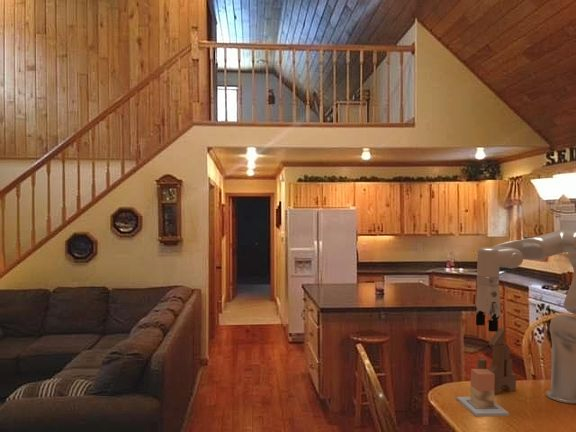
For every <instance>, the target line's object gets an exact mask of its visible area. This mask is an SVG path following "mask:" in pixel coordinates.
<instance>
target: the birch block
mask: <svg viewBox="0 0 576 432" xmlns="http://www.w3.org/2000/svg"><path fill="white" fill-rule="evenodd" d="M469 397H470V402H471V403H473V404H474V405H475V406H476V407H477V408H494V402H495V395H494V391H477V390H476V389H475V388H474V387H472V386H471V385H470V396H469Z"/></svg>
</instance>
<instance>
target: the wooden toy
mask: <svg viewBox="0 0 576 432" xmlns="http://www.w3.org/2000/svg"><path fill="white" fill-rule="evenodd" d="M488 345H490V346H492V357H491V358H492V361H491V364H490V366H489V367H488V368H487V359H486V358H482V357H481V358H480V357H479V358H477V369H488V370H489V371H491V372H492V373H494V374H495V383H494V396H495V395H498V394H499V392H500V389H502V390H504V391H507V392H514V391H516V390H517V374H516V373H514V372H513V359H512V358H511V348H510V346H509V345H508V343H506V342H505V329H504V328H501V327H498V331H497V332H495V333H494V335H493V336H492V337H491V339H490V340H489V342H488Z"/></svg>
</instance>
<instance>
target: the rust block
mask: <svg viewBox="0 0 576 432" xmlns="http://www.w3.org/2000/svg"><path fill="white" fill-rule="evenodd" d="M494 383H495V374H494V373H492V372H491V371H489V370H488V368H486V369H478V368H471V369H470V387H471V386H472V387H474V388H475V389H476V390H477V391H494Z"/></svg>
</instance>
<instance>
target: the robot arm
mask: <svg viewBox="0 0 576 432" xmlns="http://www.w3.org/2000/svg"><path fill="white" fill-rule="evenodd" d="M565 253H567V257H568V259H569V260H568V261H569V262H570V264H571V266H572V269H573V278H572V281H571V284H570V286H569V288H568V291H567V293H566V296H565V298H564V300H563V302H564V303H563V307H564V309H565V310H566V311H567V312H568V313H570V314H573V315H576V230H575V229H560V230H556V231H551V232H549V233H544V234H540V235H538V236H534V237H527V238H523V239H517V240H511V241H506V242H502V243H498V244H495V245H492V246H491V247H480V248H478V250H477V259H476V260H477V261H476V262H477V265H476V266H477V269H476V270H477V271H476V286H477V288H476V295H475V300H474V305H475V325H476V326H485V325H486V315H488V318H489V319H488V329H487V330H488V332H492V333H493V332H495V333H496V332H497V331H498V329H499V319H500V316H501V315H500V314H501V293H500V287H499V286H500V268H506V269H516V268H518V267H520V266H521V265H522V264H523V262H524V260H535V261H536V260H543V259H546V258H549V257H553V256H556V255H560V254H565ZM549 333H550V337H551V371H550V372H551V377H550V378H551V379H550V389H548V390H547V391H546V392H545V394H546V396H547V398H549V399H551V400H552V401H553V400H554V401H556V402H560V403H564V404H572V405H573V404H576V317H575V316H571V315H566V314H559V315H556V316H554V317H553V318H552V319H551V321H550V323H549Z"/></svg>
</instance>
